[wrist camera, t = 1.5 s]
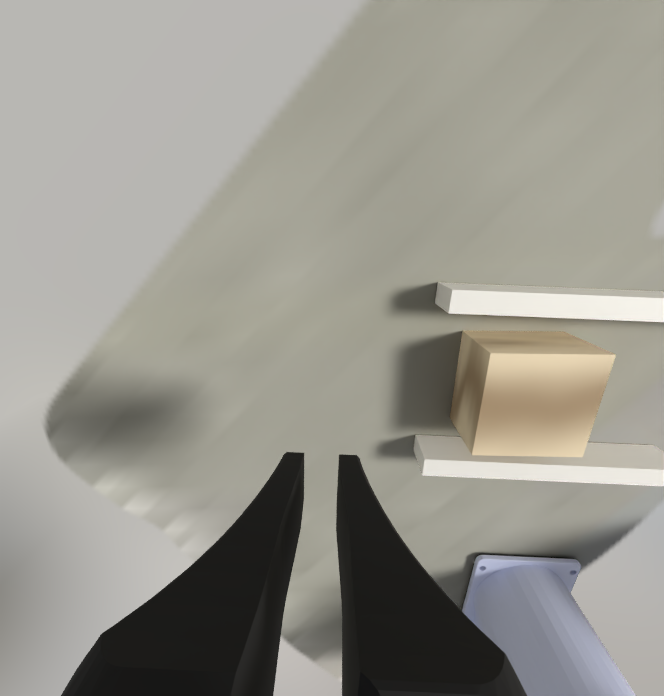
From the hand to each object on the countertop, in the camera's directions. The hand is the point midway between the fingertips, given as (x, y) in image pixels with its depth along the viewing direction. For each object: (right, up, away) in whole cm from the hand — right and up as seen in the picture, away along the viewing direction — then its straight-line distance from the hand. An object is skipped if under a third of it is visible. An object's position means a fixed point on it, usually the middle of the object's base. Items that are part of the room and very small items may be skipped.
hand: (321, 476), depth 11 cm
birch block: (+11, +3, +9) cm, 15 cm away
